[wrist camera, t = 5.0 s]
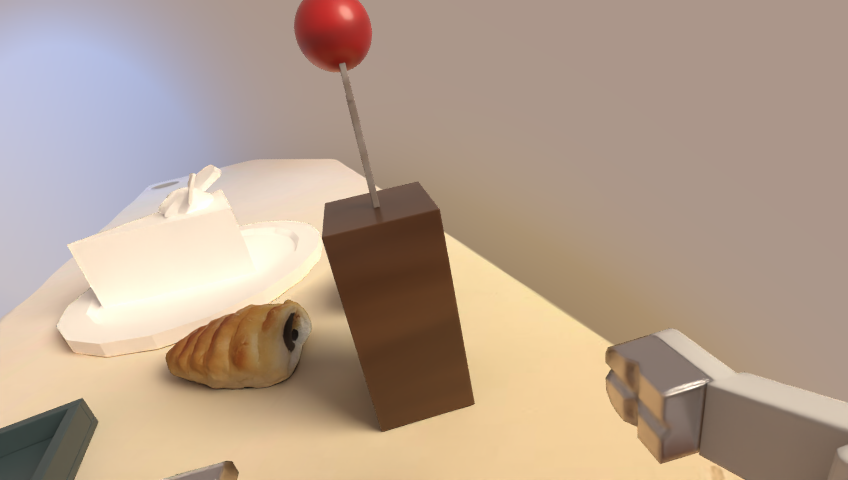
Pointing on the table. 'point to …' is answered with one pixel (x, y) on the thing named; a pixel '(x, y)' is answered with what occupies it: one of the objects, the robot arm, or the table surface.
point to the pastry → (243, 347)
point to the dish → (180, 271)
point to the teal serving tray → (47, 444)
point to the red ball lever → (388, 256)
